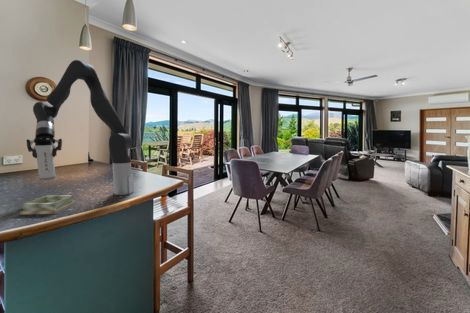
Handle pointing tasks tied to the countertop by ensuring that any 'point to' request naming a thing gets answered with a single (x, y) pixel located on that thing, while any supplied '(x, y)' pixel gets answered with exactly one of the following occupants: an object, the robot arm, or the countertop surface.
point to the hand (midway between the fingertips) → (44, 156)
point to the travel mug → (45, 159)
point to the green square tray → (48, 204)
